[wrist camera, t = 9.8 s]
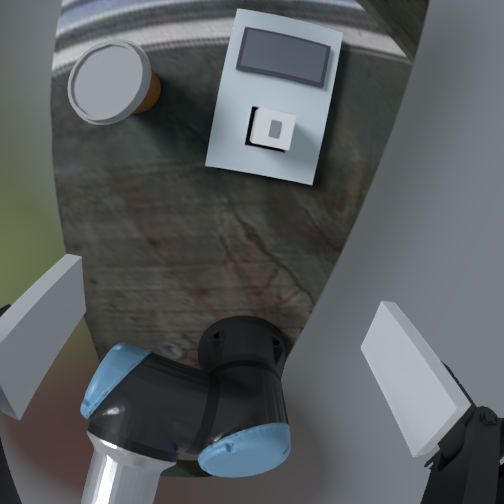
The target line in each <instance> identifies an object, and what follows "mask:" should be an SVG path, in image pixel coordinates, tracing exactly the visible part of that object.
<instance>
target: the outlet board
mask: <svg viewBox="0 0 504 504" xmlns="http://www.w3.org/2000/svg"><path fill="white" fill-rule="evenodd" d="M245 27H251V28H257V29H262V30H267V31H272V32H277V33H282V34H286V35H291V36H295V37H299V38H303V39H307V40H310V41H314V42H318V43H321V44H325V45H328V46H331V49H330V55H329V60H328V65H327V71H326V76H325V81H324V86H323V88H320V87H316V86H312V85H308V84H304V83H300V82H296V81H292V80H288V79H283V78H279V77H274V76H269V75H264V74H259V73H254V72H248V71H242V70H236V64H237V59H238V55H239V50H240V46H241V42H242V37H243V33H244V29H245ZM342 36H343V33H341V32H338V31H335V30H332V29H329V28H325V27H322V26H318V25H315V24H311V23H308V22H304V21H300V20H296V19H292V18H287V17H283V16H278V15H273V14H268V13H263V12H257V11H251V10H245V9H237V13H236V17H235V21H234V25H233V29H232V33H231V38H230V42H229V46H228V51H227V55H226V59H225V64H224V69H223V73H222V78H221V83H220V88H219V93H218V98H217V103H216V108H215V113H214V118H213V124H212V129H211V135H210V140H209V146H208V152H207V158H206V164H205V166H210V167H217V168H223V169H229V170H235V171H241V172H247V173H253V174H258V175H264V176H269V177H274V178H280V179H285V180H290V181H295V182H299V183H304V184H309V185H312V183H313V179H314V175H315V170H316V166H317V162H318V157H319V153H320V148H321V144H322V139H323V134H324V130H325V125H326V120H327V115H328V110H329V105H330V101H331V96H332V90H333V85H334V80H335V75H336V70H337V64H338V59H339V53H340V47H341V42H342ZM252 107H255V108H259V107H261V108H266V109H271V110H276V111H280V112H285V113H289V114H293V115H297V116H296V120H295V125H294V130H293V134H292V139H291V144H290V148H289V150H284V149H283V152H281V151H276V150H271V149H266V148H261V147H255V146H250V145H245V140H246V134H247V129H248V124H249V119H250V114H251V109H252Z"/></svg>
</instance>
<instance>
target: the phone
mask: <svg viewBox="0 0 504 504" xmlns="http://www.w3.org/2000/svg"><path fill="white" fill-rule="evenodd" d="M330 49H331V46H328V45H325V44H321V43H318V42H314V41H310V40H307V39H303V38H299V37H295V36H291V35H286V34H282V33H277V32H272V31H267V30H262V29H257V28H251V27H245V29H244V33H243V37H242V42H241V46H240V50H239V55H238V59H237V64H236V70H242V71H248V72H254V73H259V74H264V75H269V76H274V77H279V78H283V79H288V80H292V81H296V82H300V83H304V84H308V85H312V86H316V87H320V88H323V86H324V81H325V76H326V71H327V65H328V60H329V55H330Z"/></svg>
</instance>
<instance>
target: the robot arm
mask: <svg viewBox="0 0 504 504" xmlns="http://www.w3.org/2000/svg"><path fill="white" fill-rule="evenodd" d="M85 312H86V306H85V297H84V286H83V272H82V257H80V256H75V255H70V254H66V255H65V256H64V257H63V258H62V259H60V260H59V261H58V262H57V263H56V264H55V265H54V266H53V267H51V268H50V269H49V270H48V271H47V272H46V273H45V274H44V275H43V276H42V277H41V278H40V279H38V280H37V281H36V282H35V283H34V284H33V285H32V286H31V287H30V288H29V289H28V290H27V291H26V292H25V293H24V294H23V295H22V296H21V297H20V298H19V299H18V300H17V301H16V302H15V303H14V304H13V305H9V304H8V305H6V306H4V307H2V308H0V409H1V410H2V412H3V413H5V414H7V415H9V416H11V417H13V418H15V419H17V420H20V419H21V417H22V415H23V413H24V411H25V409H26V407H27V406H28V404H29V402H30V400H31V398H32V397H33V395H34V393H35V391H36V389H37V388H38V386H39V384H40V383H41V381H42V379H43V377H44V376H45V374H46V372H47V371H48V369H49V368H50V366H51V364H52V363H53V361H54V359H55V358H56V356H57V355H58V353H59V351H60V350H61V348H62V347H63V345H64V344H65V342H66V340H67V339H68V338H69V336H70V335H71V333H72V331H73V330H74V328H75V327H76V325H77V324H78V323H79V321H80V320H81V318H82V317H83V315H84V314H85ZM361 350H362V352H363V354H364V356H365V358H366V360H367V362H368V364H369V366H370V368H371V370H372V372H373V373H374V376H375V378H376V380H377V382H378V384H379V386H380V388H381V390H382V392H383V394H384V396H385V397H386V400H387V402H388V404H389V406H390V408H391V410H392V412H393V415H394V417H395V419H396V421H397V423H398V425H399V427H400V429H401V432H402V434H403V436H404V438H405V440H406V442H407V445H408V447H409V449H410V451H411V454H412V456H413V457H416V456H420V455H424V454H427V453H429V452H430V451H431V450H432V449H433V448H434V447H435V446H436V445H437V444H438V445H439V447H440V450H439V451H438V452H437V453H436V454H435V455H434V456H433V457H432V458H431V459H430V460H429V461H427V462H426V464H425V466H424V467H427V466H428V465H429V464H430V463H431V462H433V465H432V466H431V467H430V468H429V469H431V473H430V476H429V480H428V483H427V486H426V489H425V492H424V495H423V498H422V501H421V504H504V463H503V464H502V465H500V461H499V460H500V459H501V458H502V457H504V418H498V417H497V415H496V414H495V413H494V412H493V411H492V410H491V409H489V408H488V407H484V406H481V407H478V408H477V407H476V405H475V404H474V403H473V401H472V400H471V398H470V397H469V395H468V394H467V393H466V391H465V389H464V388H463V387H462V385H461V384H459V381H458V380H457V378H456V377H454V374H453V373H452V371H451V370H450V369H449V367H448V366H447V365H445V364H444V363H443V362H442V361H441V360H440V359H439V358H438V357H437V356H436V354H435V353H434V352H433V350H432V349H431V348H430V346H429V345H428V344H427V342H426V341H425V340H424V338H423V337H422V336H421V335H420V333H419V332H418V331H417V329H416V328H415V327H414V326H413V324H412V323H411V322H410V321H409V320H408V318H407V317H406V316H405V315H404V313H403V312H402V311H401V310H400V308H399V307H398V306H397V305H396V304H395V302H388V301H381V303H380V306H379V308H378V310H377V313H376V315H375V317H374V319H373V322H372V324H371V326H370V329H369V331H368V333H367V335H366V337H365V339H364V342H363V344H362V346H361ZM198 360H199V364H200V367H201V370H199V369H196V368H193V367H190V366H187V365H184V364H182V363H179V362H176V361H174V360H171V359H168V358H166V357H163V356H161V355H158V354H156V353H153V351H152V350H145V349H142V348H140V347H137V346H134V345H132V344H129V343H120V344H117V345H115V346H114V347H113V348H112V349H111V350H110V351H109V352H108V354H107V355H106V356H105V358H104V359H103V361H102V362H101V364H100V366H99V367H98V369H97V371H96V373H95V375H94V377H93V379H92V381H91V383H90V385H89V387H88V389H87V392H86V394H85V398H84V400H83V403H82V405H81V413H82V415H83V416H85V418H86V419H90V423H89V426H88V430H87V434H88V436H89V438H90V440H91V442H92V443H93V445H94V453H93V457H92V460H91V464H90V469H89V472H88V476H87V480H86V484H85V488H84V492H83V497H82V501H81V504H153V500H154V497H155V492H156V489H157V485H158V480H159V477H160V473H161V472H162V471H163V470H165V469H167V468H169V467H171V466H173V465H175V464H176V461H177V457H178V454H179V452H180V451H182V452H186V453H189V454H194V455H197V456H198V462H199V464H200V466H201V468H202V469H203V470H204V471H207V472H208V473H210V474H212V475H216V476H222V477H244V476H251V475H256V474H259V473H263V472H266V471H268V470H271V469H273V468H275V467H276V466H278V465H279V464H281V463H282V462H283V461H284V460H285V459H286V458H287V457H288V455H289V453H290V450H291V443H290V426H289V424H288V418H287V413H286V407H285V402H284V396H283V390H282V385H281V376H282V373H283V369H284V365H285V362H286V346H285V342H284V338H283V336H282V334H281V333H280V331H279V330H278V329H277V328H276V327H275V326H273V325H272V324H271V323H269V322H267V321H265V320H263V319H260V318H256V317H251V316H234V317H229V318H225V319H222V320H220V321H218V322H216V323H214V324H213V325H211V326H210V327H209V328H208V329H207V330H206V331H205V332H204V333H203V335H202V337H201V339H200V342H199V349H198ZM0 504H22V503H21V500H20V498H19V495H18V493H17V490H16V487H15V485H14V482H13V479H12V476H11V473H10V470H9V467H8V464H7V460H6V457H5V453H4V450H3V446H2V442H1V438H0Z"/></svg>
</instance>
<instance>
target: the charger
mask: <svg viewBox="0 0 504 504" xmlns="http://www.w3.org/2000/svg"><path fill="white" fill-rule="evenodd" d="M296 116H297V115H293V114H289V113H285V112H280V111H276V110H271V109H266V108H261V107H259V108H258V109H257V110H256V111H255V115H254V120H253V125H252V130H251V135H250V139H249V141H250V142H252V143H255V144H260V145H265V146H270V147H275V148H280V149H284V150H289V148H290V144H291V139H292V134H293V130H294V125H295V120H296Z"/></svg>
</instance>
